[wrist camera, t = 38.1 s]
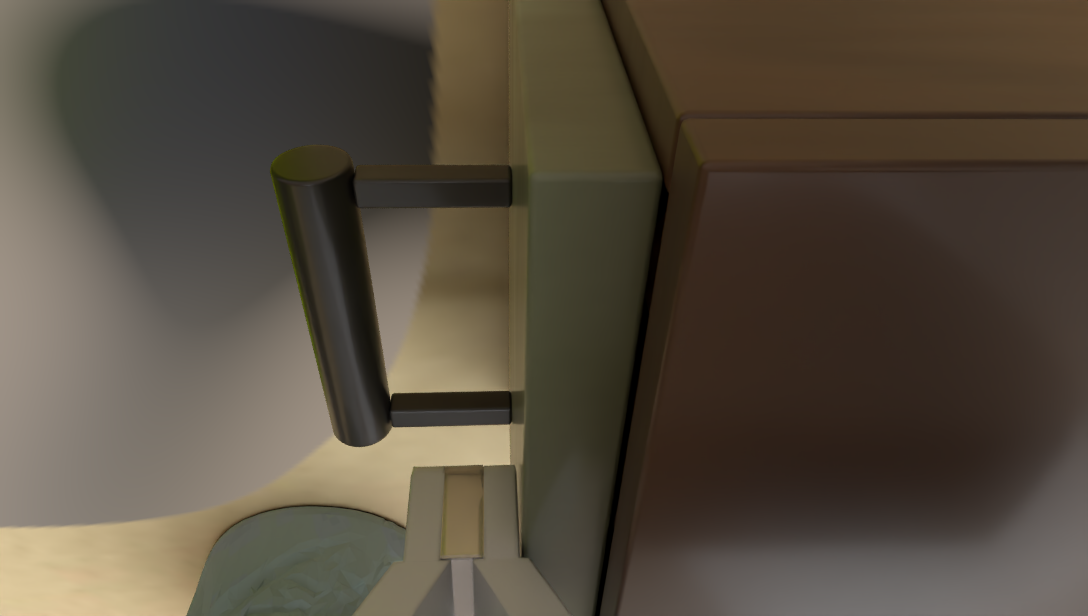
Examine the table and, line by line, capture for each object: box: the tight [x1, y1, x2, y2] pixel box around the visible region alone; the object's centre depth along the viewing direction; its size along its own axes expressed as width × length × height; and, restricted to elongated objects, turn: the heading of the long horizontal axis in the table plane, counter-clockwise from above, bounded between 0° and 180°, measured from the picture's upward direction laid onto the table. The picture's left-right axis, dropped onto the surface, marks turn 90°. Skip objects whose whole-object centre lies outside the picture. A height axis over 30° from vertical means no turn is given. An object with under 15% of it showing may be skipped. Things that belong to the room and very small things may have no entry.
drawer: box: [270, 0, 669, 616], centre depth 14 cm, size 19×13×9 cm
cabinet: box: [595, 0, 1088, 616], centre depth 14 cm, size 16×15×11 cm
